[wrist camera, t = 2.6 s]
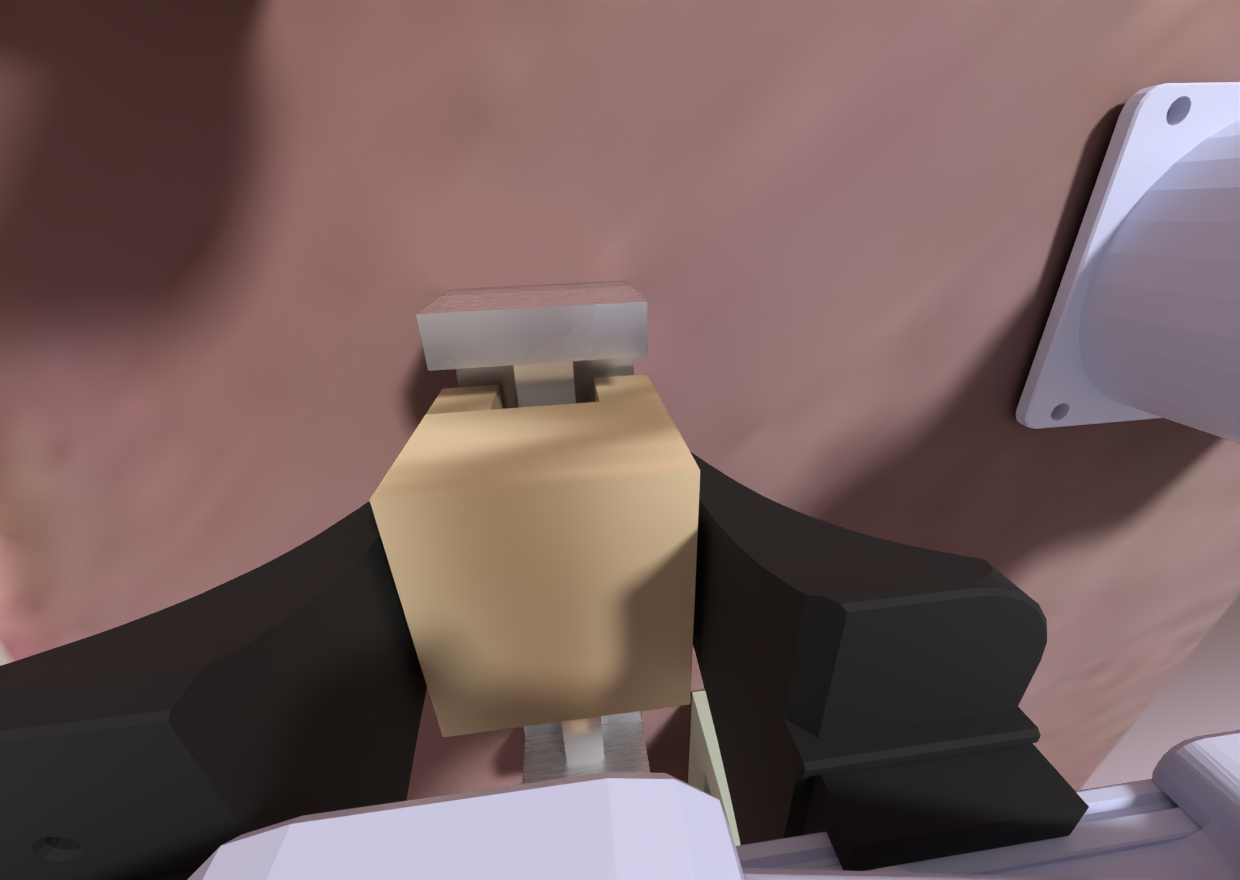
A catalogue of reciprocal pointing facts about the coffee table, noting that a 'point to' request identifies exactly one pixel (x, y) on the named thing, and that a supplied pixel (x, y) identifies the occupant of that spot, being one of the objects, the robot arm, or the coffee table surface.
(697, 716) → the cabinet
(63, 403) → the coffee table surface
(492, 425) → the carriage
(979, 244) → the coffee table surface
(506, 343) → the rail
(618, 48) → the coffee table surface
